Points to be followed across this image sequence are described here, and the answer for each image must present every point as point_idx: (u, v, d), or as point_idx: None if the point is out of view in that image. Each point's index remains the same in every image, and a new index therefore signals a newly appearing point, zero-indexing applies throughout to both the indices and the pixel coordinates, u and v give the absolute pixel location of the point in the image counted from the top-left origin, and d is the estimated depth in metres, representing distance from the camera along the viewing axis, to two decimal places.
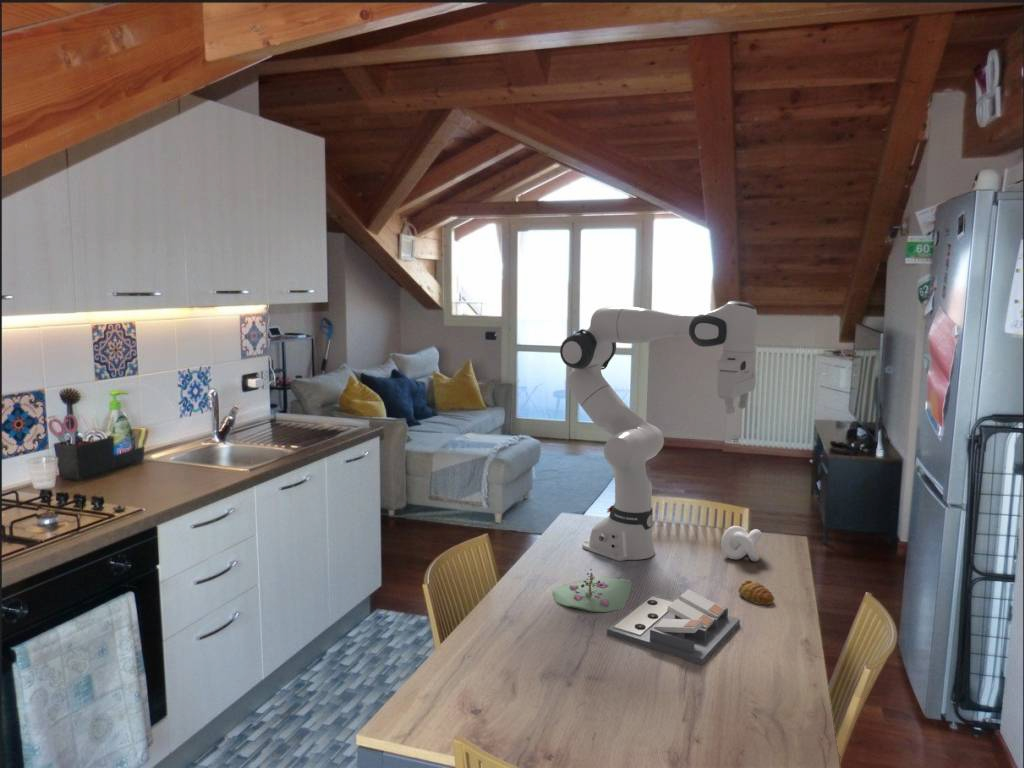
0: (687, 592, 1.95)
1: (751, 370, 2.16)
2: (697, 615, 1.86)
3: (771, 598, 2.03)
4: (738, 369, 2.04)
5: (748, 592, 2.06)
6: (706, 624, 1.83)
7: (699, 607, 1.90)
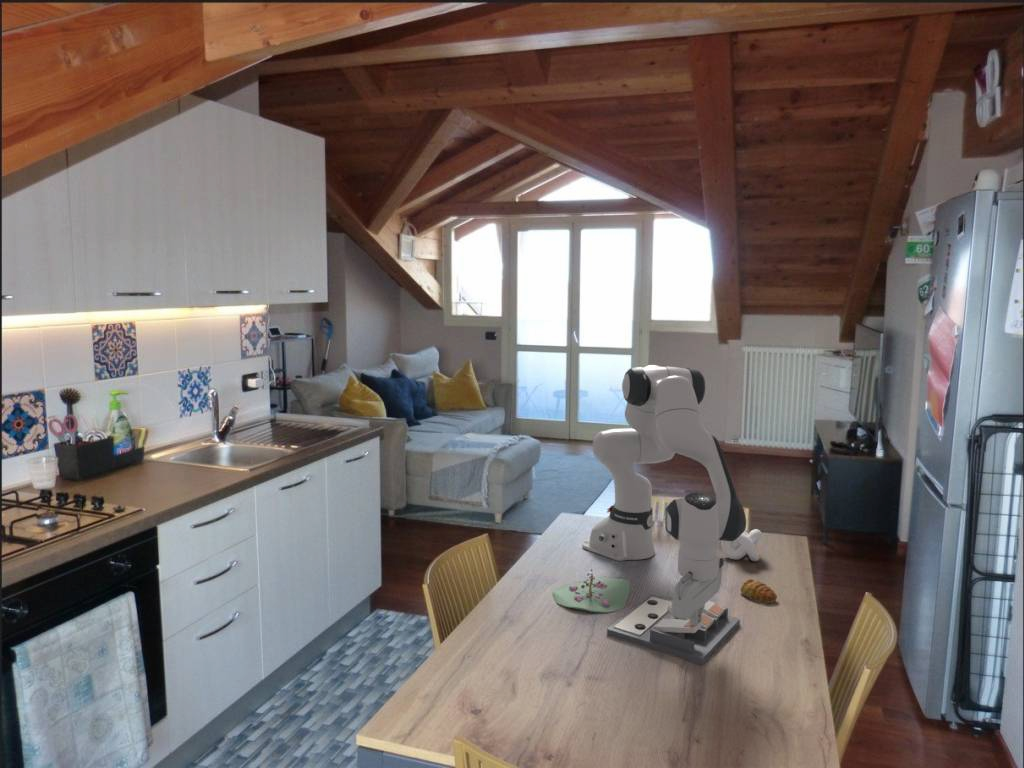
0: None
1: None
2: None
3: (774, 596, 2.05)
4: None
5: (750, 591, 2.07)
6: (706, 624, 1.83)
7: None
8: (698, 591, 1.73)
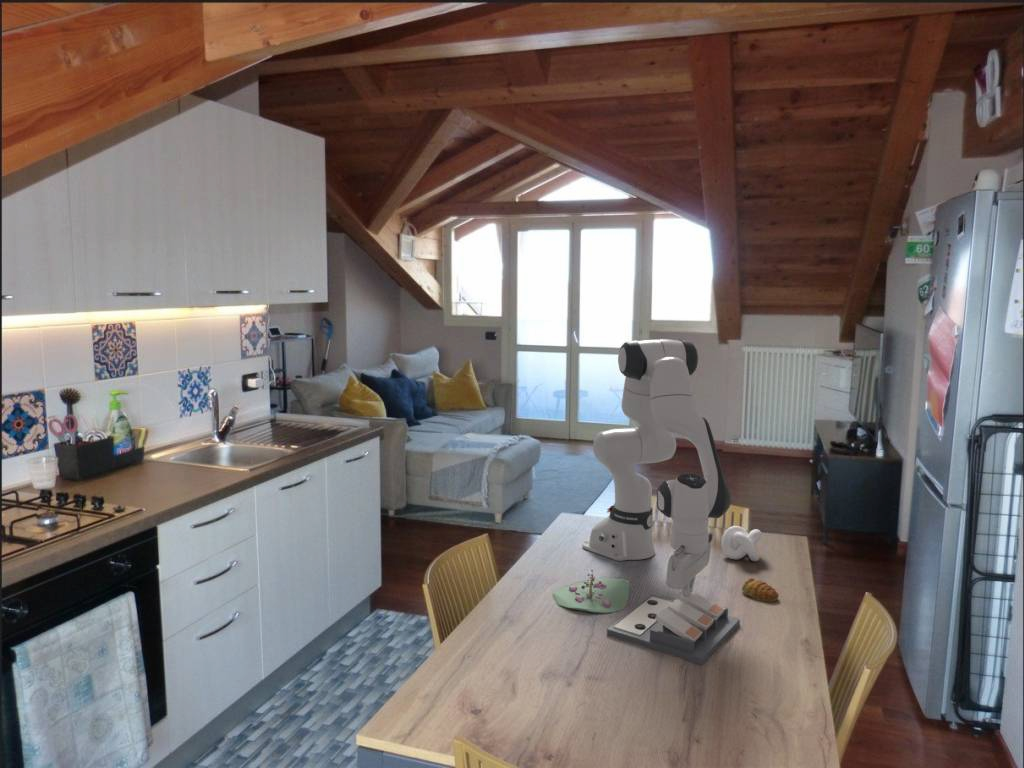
0: None
1: None
2: (697, 615, 1.86)
3: (776, 595, 2.05)
4: None
5: (752, 590, 2.08)
6: (706, 624, 1.83)
7: (699, 607, 1.90)
8: (689, 563, 1.89)
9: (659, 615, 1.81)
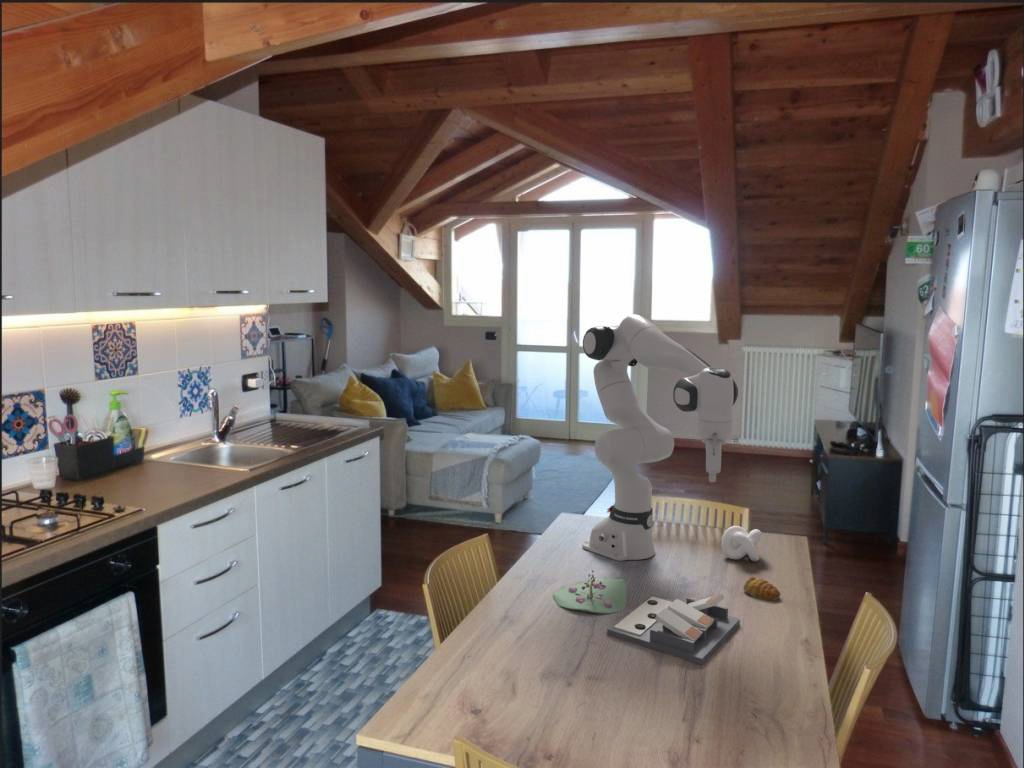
0: None
1: None
2: (697, 615, 1.86)
3: (778, 593, 2.06)
4: None
5: (754, 589, 2.08)
6: (706, 624, 1.83)
7: (698, 606, 1.90)
8: None
9: (659, 615, 1.81)
